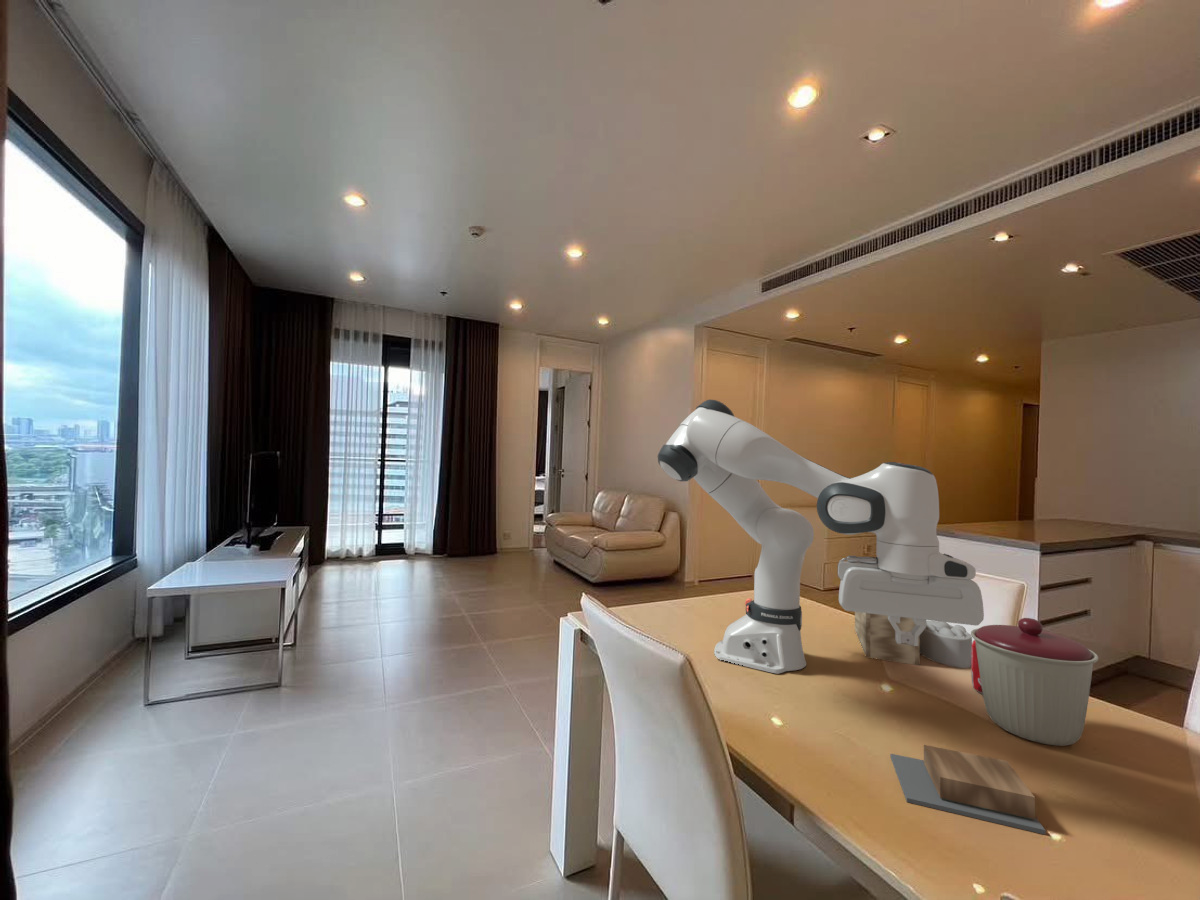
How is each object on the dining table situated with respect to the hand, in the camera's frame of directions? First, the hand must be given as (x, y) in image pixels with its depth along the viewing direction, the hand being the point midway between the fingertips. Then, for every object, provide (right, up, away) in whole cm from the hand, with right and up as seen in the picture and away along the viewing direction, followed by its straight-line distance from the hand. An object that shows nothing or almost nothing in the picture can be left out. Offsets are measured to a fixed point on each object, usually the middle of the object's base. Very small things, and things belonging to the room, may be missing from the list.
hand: (906, 643), depth 79 cm
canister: (+31, -22, +12) cm, 40 cm away
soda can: (+36, -22, +27) cm, 50 cm away
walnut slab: (+1, -18, -5) cm, 18 cm away
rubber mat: (+4, -20, -6) cm, 21 cm away
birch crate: (+29, -23, +55) cm, 66 cm away
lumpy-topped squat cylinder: (+41, -23, +48) cm, 67 cm away
